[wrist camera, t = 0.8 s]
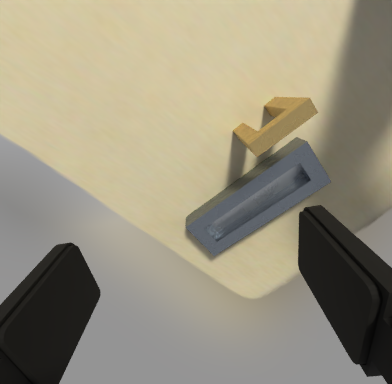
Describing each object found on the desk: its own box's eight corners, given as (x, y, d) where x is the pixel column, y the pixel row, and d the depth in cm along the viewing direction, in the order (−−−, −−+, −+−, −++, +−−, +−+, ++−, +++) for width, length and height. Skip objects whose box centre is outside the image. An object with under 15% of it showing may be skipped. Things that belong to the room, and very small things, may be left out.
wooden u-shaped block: (274, 97, 28) (309, 97, 19) (281, 107, 28) (318, 112, 20) (232, 130, 29) (248, 144, 21) (239, 139, 30) (257, 157, 21)
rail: (296, 137, 30) (307, 141, 27) (319, 174, 32) (331, 181, 29) (186, 217, 35) (185, 227, 32) (212, 244, 37) (214, 256, 34)
